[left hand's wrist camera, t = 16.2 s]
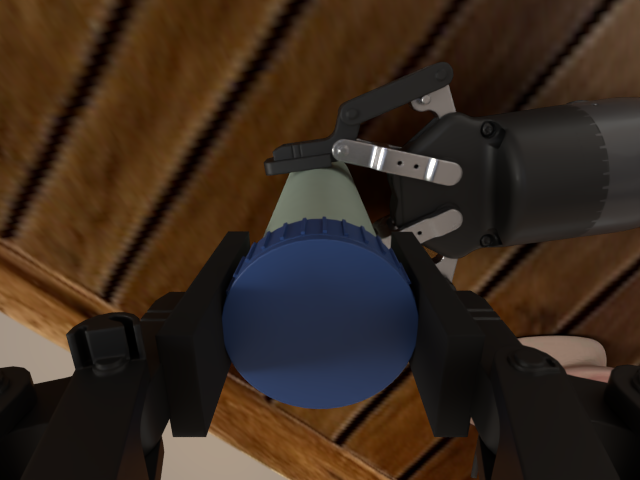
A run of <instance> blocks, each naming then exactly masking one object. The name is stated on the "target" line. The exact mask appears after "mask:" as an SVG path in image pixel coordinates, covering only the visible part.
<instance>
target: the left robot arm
mask: <svg viewBox="0 0 640 480" xmlns="http://www.w3.org/2000/svg"><path fill="white" fill-rule="evenodd" d="M390 248H392V250H393V251H394V253H395V255H396V257H397V259H398V262H399V263H400V262H401V264H402V266H403V268H404V270H405V272H406V274H407V276H408V278H409V280H410V282H411V284H409V285H410V287H411V289H412V292H413V294H414V296H415V298H416V300H415V301H416V305H417V309H418V329H417V338H416V346H415V349H414V351H413V354H412V356H411V358H410V360H409V364H410V367H411V369H412V372H413V375H414V378H415V381H416V384H417V387H418V390H419V393H420V396H421V399H422V402H423V405H424V408H425V411H426V414H427V417H428V420H429V423H430V425H431V428H432V431H433V434H434V437H468V431H469V425H470V420H471V418H472V420H473V422H474V424H475V426H476V428H477V431H478V433H479V435H478V440H477V445H476V451H475V456H474V461H473V466H472V473H471V477H472V478H477V472H479V479H480V480H640V366H634V365H622V366H617V367H615V368H614V369H613V370H611V373H610V376H609V379H608V382H607V383H606V382H601V381H596V380H591V379H586V378H582V377H577V376H573V375H569V374H567V373H566V371H565V369H564V368H563V367H562V365H561V364H560V363H559V362H558V361H557V360H556V359H555V358H553V357H552V356H550V355H549V354H547V353H545V352H543V351H541V350H538V349H536V348H533V347H529V346H525V345H522V344H521V342H520V341H519V340H518V339H517V337H516V336H515V335H514V334H513V333H512V331H511V330H510V329H509V328H508V327H507V325H506V324H505V323H504V322H503V321H502V320H500V317H499V316H498V315H497V313H496V312H495V311H493V309H492V307H491V306H490V305H489V304H488V303H487V301H486V300H485V299H483V298H482V297H480V296H479V295H477V294H475V293H474V292H472V291H454V290H453V289H452V288H451V286H450V285H449V283H448V282H447V280H446V279H445V278H444V276H443V275H442V273H441V272H440V270H439V269H438V268H437V266H436V265H435V263H434V262H433V261H432V259H431V258H430V256H429V255H428V253H427V252H426V251H425V249H424V248H423V246H422V245H421V243H420V242H419V241H418V239H417V238H416V236H415V235H414V234H413V232H391V247H390ZM249 251H250V241H249V232H228V233H227V234H226V236H225V237H224V238H223V240H222V241H221V243H220V244H219V245H218V247H217V248H216V250H215V251H214V253H213V254H212V255H211V257H210V258H209V260H208V261H207V263H206V264H205V265H204V267H203V268H202V270H201V271H200V272H199V274H198V275H197V277H196V278H195V280H194V281H193V282H192V284H191V285H190V287H189V288H188V290H187V291H186V292H169V293H167V294H166V295H164V296H163V297H161V298H159V299H158V300H156V301H155V302H154V303H153V305H152V306H151V307H150V308H149V309H148V311H147V313H145V314H144V316H143V317H142V318H141V320H139V318H138V317H137V316H135V315H134V314H130V313H126V312H115V313H107V314H103V315H98V316H95V317H93V318H90V319H87V320H85V321H83V322H81V323H79V324H78V325H76V326H74V327H73V328H72V329H71V330H70V331H69V332H68V333H67V334H66V336H67V340H68V344H69V347H70V351H71V355H72V358H73V362H74V366H75V369H76V370H75V372H74V374H73V376H71V377H67V378H62V379H58V380H53V381H48V382H43V383H38V384H33V381H32V378H31V375H30V372H29V371H27V370H26V369H25V368H22V367H14V366H13V367H5V368H0V480H161V473H162V465H163V458H164V447H163V440H162V433H163V431H164V429H165V427H166V425H167V423H168V421H169V419H170V423H171V429H172V434H173V437H206V435H207V433H208V430H209V427H210V424H211V421H212V418H213V415H214V412H215V409H216V406H217V403H218V400H219V397H220V394H221V391H222V388H223V385H224V382H225V379H226V377H227V374H228V371H229V368H230V365H231V362H232V361H231V360H230V357H229V355H228V353H227V351H226V348H225V343H224V335H223V325H222V311H223V306H224V302H225V300H226V297H227V294H225V293H226V290H227V288H228V286H229V284H230V282H231V280H232V278H233V275H234V273H235V271H236V269H237V267H238V265H239V263H240V261H241V259H242V257H243V256H244V257H246V256H247V255H248V253H249Z"/></svg>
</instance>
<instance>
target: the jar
mask: <svg viewBox="0 0 640 480" xmlns="http://www.w3.org/2000/svg"><path fill="white" fill-rule="evenodd" d="M323 216H324V217H326V219H333V220H339V221H342V219H345V220H346V222H348V223H350V224H353V225H356V226H358V227H360V226H361V225H362V226H364V228H365V230H366V231H368V232H370V233H371V234H372V235H374V236H375V237H376V234H375V231H374V229H373V227H372V224H371V222H370V219H369V217H368V215H367V212H366V210H365V207H364V205H363V203H362V200H361V198H360V195H359V193H358V191H357V188H356V186H355V184H354V181H353V179H352V176H351V174H350V172H349V169H348V167H347V166H346V164H345V163H344V162H340V161H338V162H332V167H327V168H320V169H312V170H306V171H299V172H292V173H290V174H289V177H288V179H287V182H286V184H285V186H284V189H283V191H282V194H281V196H280V198H279V201H278V203H277V206H276V208H275V210H274V213H273V215H272V218H271V220H270V222H269V225H268V227H267V229H266V232H265V234H264V237H265V235H266V233H267V232H268V231H270V232H273V231H274V230H276V229H278V228H280V227H282V226H283V224H284V223H286V222H287V223H288V224H290V223H293V222H297V221H301V220H302V219H303V218H306V219H322V217H323ZM264 237H263V238H264Z"/></svg>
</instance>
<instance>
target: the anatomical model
mask: <svg viewBox="0 0 640 480" xmlns="http://www.w3.org/2000/svg"><path fill="white" fill-rule="evenodd" d="M518 340H519V341H520V342H521V344H522V345H525V346H529V347H533V348H536V349H538V350H541V351H543V352H545V353H547V354H549V355H550V356H552V357H553V358H555V359H556V360H557V361H558V362H559V363H560V364H561V365H562V367H563V368H564V369H565V371H566V373H567V374H569V375H573V376H577V377H582V378H586V379H591V380H596V381H601V382H606V383H607V382H608V379H609V376H610V373H611V370H613V369H614V368H612V367H606V353H605V350H604V348H603V346H602V345H601V344H600V343H599V342H597V341H595V340H593V339H589V338H584V337H576V336H536V337H525V338H518ZM470 423H471V424H473V425H475V424H474V422H473V420H472V418H471V420H470Z"/></svg>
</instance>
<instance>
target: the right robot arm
mask: <svg viewBox="0 0 640 480" xmlns="http://www.w3.org/2000/svg"><path fill="white" fill-rule="evenodd" d="M452 78H453V69H452V67H451V66H450V65H449V64H448V63H446V62H439V63H436V64H433V65H430V66H427V67H424V68H422V69H420V70H417V71H415V72H413V73H410V74H408V75H406V76H404V77H401V78H399V79H397V80H394V81H392V82H390V83H388V84H385V85H383V86H381V87H378V88H376V89H374V90H372V91H369V92H367V93H365V94H362V95H360V96H358V97H356V98H353V99H351V100H349V101H346V102H344V103H343V104H341V106H340V107H339V110H338V116H337V121H336V125H335V129H334V131H333V133H332V134H331V135H330V136H329V137H327V138H323V139H316V140H309V141H302V142H295V143H288V144H283V145H281V146H280V147H278V148H276V149H275V150H274V151H273V156H274V157H272V158H268V159H267V160H266V161H265V162H264V166H265V172H266V175H277V174H284V173H292V172H299V171H306V170H312V169H320V168H327V167H332V162H338V161H340V162H344V163H349V164H354V165H359V166H364V167H369V168H372V169H375V170H378V171H382V172H387V179H388V182H389V185H390V188H391V191H392V195H391V200H390V214H389V215H387V216H385V217H383V218H381V219H379V220H377V221H375V222H374V224H373V225H372V227H373V229H374V231H375V234H376V236H377V235H378V236H379V237H380V238H381V240H382V243H383V244H384V245H386V246H387V248H388V249H390V247H391V232H413V234H414V235H415V236H416V238H417V239H418V241H419V242H420V243H421V245H423V246H425V247H427V248H429V249H431V250H433V251H434V252H436V253H438V254H437V255H436V256H435V257H434V258H432V261H433V262H434V263H435V265H436V266H437V268H438V269H439V270H440V272H441V273H442V275H443V276H444V278H445V279H446V280H447V282H448V283H449V285H450V286H451V288H452V289H453V290H454V291H456V288H455V287H454V285H453V284H452V279H453V275H454V271H455V267H456V263H457V260H458V258H462V257H464V256H466V255H467V254H469V253H470V252H472V251H474V250H476V249H479V248H483V247H505V246H513V245H520V244H528V243H536V242H543V241H551V240H560V239H567V238H575V237H582V236H590V235H598V234H606V233H614V232H620V231H625V230H629V229H634V228H637V227H640V97H621V98H608V99H601V100H593V101H587V100H586V101H583V100H579V101H574V102H570V103H567V104H566V105H558V106H551V107H544V108H538V109H531V110H524V111H517V112H510V113H503V114H496V115H489V116H482V117H471V116H468V115H466V114H463V113H460V112H456V110H455V107H454V103H453V99H452V96H451V92H450V88H449V84H450V82H451V81H452ZM406 103H408V105H409V107H410V108H411V109H412V110H414V111H427V110H429V111H430V112H432V113H433V115H434V117H435V118H433V119H432V120H431V121H430V122H429V123H428V124H427V125H426V126H425V127H424V128H423V129H421V130H420V131H419V132H418V133H417V134H416V135H415V136H414V137H413V138H412V139H411V140H409V141H408V142H407V143H406V144H405V145H404V146H403V147H400V146H395V145H390V144H385V143H380V142H375V141H368V140H363V139H358V138H357V135H358V131H359V127H360V123H362V122H364V121H367V120H369V119H371V118H374V117H376V116H378V115H381V114H383V113H385V112H388V111H390V110H392V109H395V108H397V107H399V106H402V105H404V104H406ZM394 223H395V224H394Z"/></svg>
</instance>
